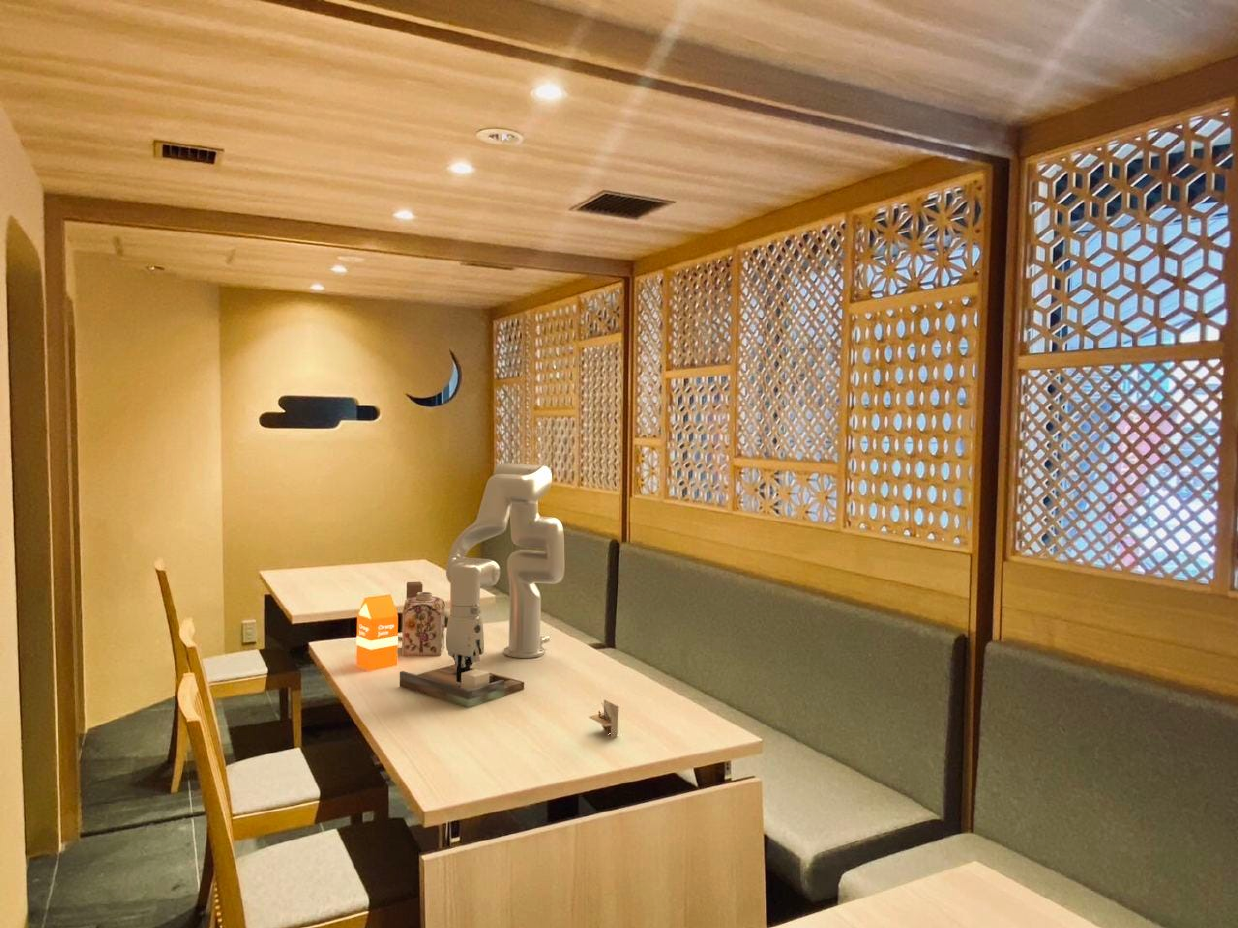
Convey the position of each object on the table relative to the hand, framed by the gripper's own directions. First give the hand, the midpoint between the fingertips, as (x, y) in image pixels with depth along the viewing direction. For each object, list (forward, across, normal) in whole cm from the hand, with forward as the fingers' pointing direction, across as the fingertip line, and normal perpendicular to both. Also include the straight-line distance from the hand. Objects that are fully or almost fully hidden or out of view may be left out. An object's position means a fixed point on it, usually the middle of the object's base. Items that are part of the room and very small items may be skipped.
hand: (463, 681), depth 228 cm
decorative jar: (+3, +40, -21) cm, 45 cm away
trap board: (+3, +4, -3) cm, 6 cm away
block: (+1, -5, 0) cm, 5 cm away
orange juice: (+4, +38, -2) cm, 38 cm away
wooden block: (+3, +54, -32) cm, 63 cm away
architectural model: (+4, -46, -2) cm, 46 cm away
